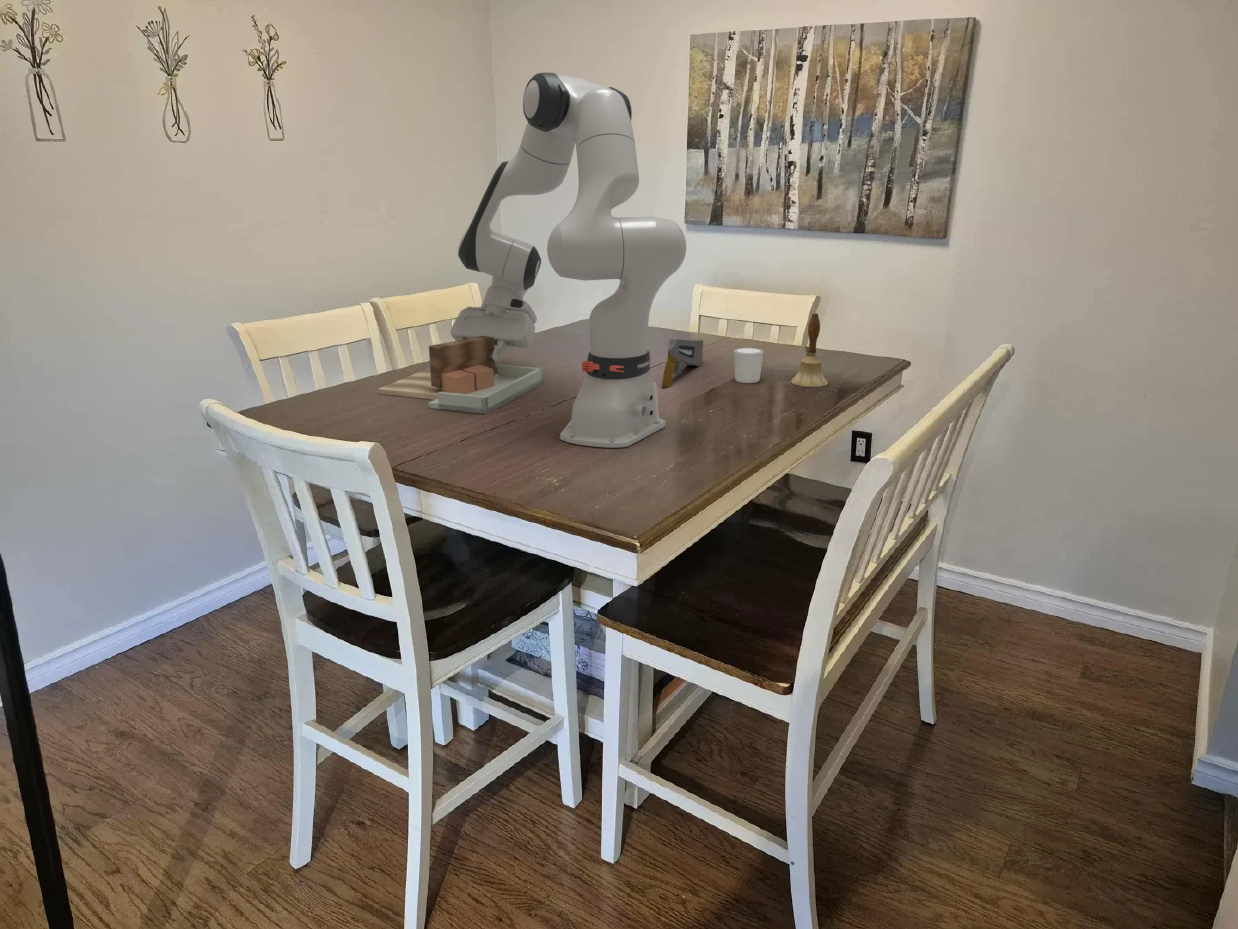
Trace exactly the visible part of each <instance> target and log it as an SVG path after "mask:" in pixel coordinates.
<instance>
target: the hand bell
mask: <svg viewBox="0 0 1238 929" xmlns="http://www.w3.org/2000/svg"><path fill="white" fill-rule="evenodd" d="M807 325H808V326H807V327H808V328H807V334H808V340H809V341H808V342H809V344H808V349H807V350H808V352H807V356H806V357H803V358H802V359H801V360H800V365H799V369H798V371H797V373H796V374H795V376H794V377H792V378H791V380H790V383H791V384H792V385H795V386H797V387H801V388H822V387H826V386H827V385H828V384H829V381H828V380H827V379H826V377H825V376H824V373H823V371H822V369H823V368H822V360H821V359H820V358H818V357H817V355H816V353H817V341H818V338H819V335H820V330H821V321H820V318H819V313H817V312H813V313H811V317H810V319H809V321H808V324H807Z"/></svg>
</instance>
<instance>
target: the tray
mask: <svg viewBox="0 0 1238 929" xmlns="http://www.w3.org/2000/svg"><path fill="white" fill-rule="evenodd" d="M496 368H497V369H496V371H497V373H495V376H494V385H495V386H493V387H489V388H486V389H482V390H478V391H476V390H475V392H471V393H467V394H458V393H448V392H438V399H436V400H431V401H429V402H428V408H429V409H437V410H445V411H452V412H455V411H456V412H462V413H472V414H478V415H479V414H481V415H488V414H490V413H491V412H494V411H495V410H497V409H498V408H501V407H503V406H504V405H506V404H508V403H510V402H512V401H513V400H516V398H519V397H521V396H522V395H524V394H526V393H528V392H529V391H532V390H533V389H535V388H538V387H539V386H540V385H542V384H544V370H543V369H544V368H542V367H531V366H520V365H509V364H497V365H496Z"/></svg>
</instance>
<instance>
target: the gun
mask: <svg viewBox="0 0 1238 929" xmlns="http://www.w3.org/2000/svg"><path fill="white" fill-rule="evenodd" d="M667 348H668V350H667V360H666V362H665V367H664V368H663V369H664V371H663V375H662V381H661V382H662V384H661V386H662V388H666V389H667V388H670V387H672V381H673V375H681V372H682V370H683V369H685V366H688V367H690V366H691V367H701V365H702V360H703V359H702V358H703V354H704V353H703V352H704V351H703V350H704V349H703V348H704V340H703V339H676V338H670V339H668V347H667Z"/></svg>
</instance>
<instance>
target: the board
mask: <svg viewBox="0 0 1238 929" xmlns="http://www.w3.org/2000/svg"><path fill="white" fill-rule="evenodd" d="M377 390H378V391H377V392H378V395H383V396H394V397H404V398H413V399H422V400H423V399H424V400H431V401H433V400H436V399H438V392H443V391H442V388H437V387H433V386H431V372H430V367H428V368H426V369H423V370H421V371H419V372H416V373H413V374H411V375H409V376H406V377H403V378H400V379H398V380H397V381H395V382H392V383H389V384H386V385H385V386H381V387H379V388H377Z"/></svg>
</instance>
